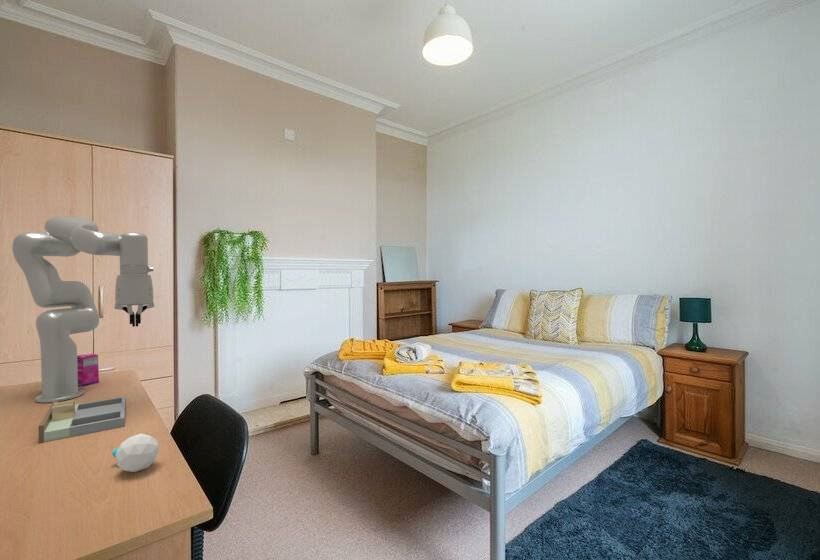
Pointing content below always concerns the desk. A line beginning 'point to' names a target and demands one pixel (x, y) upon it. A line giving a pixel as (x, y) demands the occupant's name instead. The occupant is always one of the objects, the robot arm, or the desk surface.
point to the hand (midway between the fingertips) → (135, 326)
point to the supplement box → (87, 369)
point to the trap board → (84, 419)
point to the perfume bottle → (136, 453)
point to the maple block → (63, 410)
